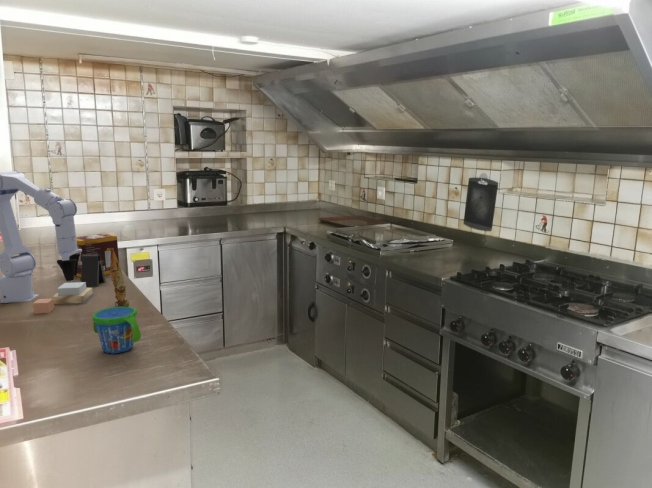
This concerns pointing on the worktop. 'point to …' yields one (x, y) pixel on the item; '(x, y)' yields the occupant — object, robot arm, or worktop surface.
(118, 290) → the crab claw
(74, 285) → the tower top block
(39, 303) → the terracotta block
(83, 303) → the rubber mat
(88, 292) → the oak slab
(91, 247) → the supplement box
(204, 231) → the worktop surface
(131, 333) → the snack cup
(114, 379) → the worktop surface
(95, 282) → the phone stand
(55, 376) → the worktop surface
